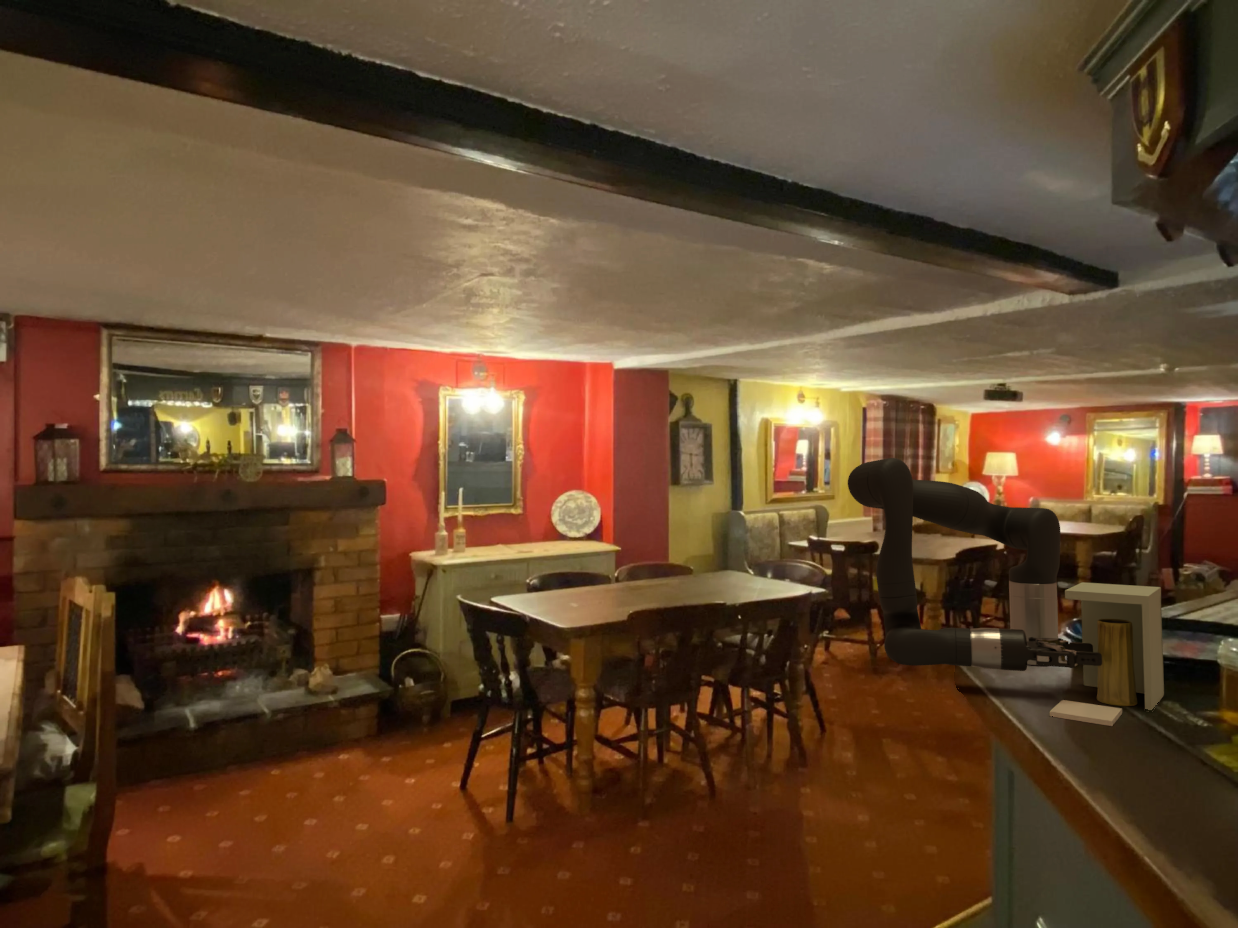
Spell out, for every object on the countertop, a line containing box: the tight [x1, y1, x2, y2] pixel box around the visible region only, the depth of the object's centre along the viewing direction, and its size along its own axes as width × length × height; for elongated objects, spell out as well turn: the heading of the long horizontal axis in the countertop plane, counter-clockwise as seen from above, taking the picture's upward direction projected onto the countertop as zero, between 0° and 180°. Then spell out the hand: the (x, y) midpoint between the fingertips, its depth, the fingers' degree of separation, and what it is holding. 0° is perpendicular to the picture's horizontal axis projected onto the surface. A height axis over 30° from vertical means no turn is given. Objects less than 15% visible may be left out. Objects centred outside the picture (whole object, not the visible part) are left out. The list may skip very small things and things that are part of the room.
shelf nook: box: [1064, 581, 1165, 710], centre depth 146 cm, size 14×13×20 cm
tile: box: [1049, 699, 1123, 727], centre depth 135 cm, size 9×9×1 cm
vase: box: [1096, 619, 1138, 707], centre depth 143 cm, size 6×6×14 cm
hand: (1097, 654), depth 145 cm, fingers open, 8 cm apart
